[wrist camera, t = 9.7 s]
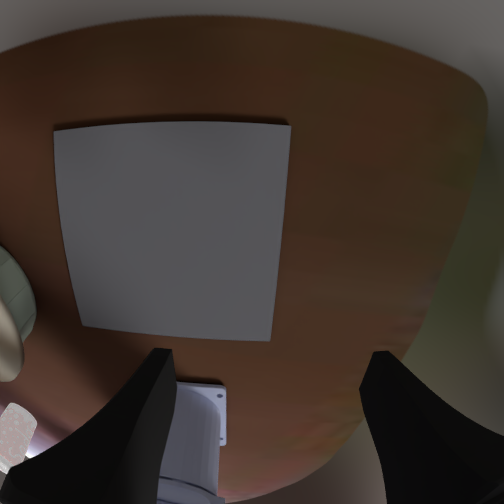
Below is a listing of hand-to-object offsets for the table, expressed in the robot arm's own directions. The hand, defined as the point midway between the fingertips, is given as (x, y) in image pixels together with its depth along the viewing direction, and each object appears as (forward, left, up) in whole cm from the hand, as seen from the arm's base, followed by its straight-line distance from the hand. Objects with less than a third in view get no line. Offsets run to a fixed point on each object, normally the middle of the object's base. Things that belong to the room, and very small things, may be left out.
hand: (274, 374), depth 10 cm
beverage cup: (-24, +29, -10) cm, 39 cm away
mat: (+1, +6, -9) cm, 11 cm away
